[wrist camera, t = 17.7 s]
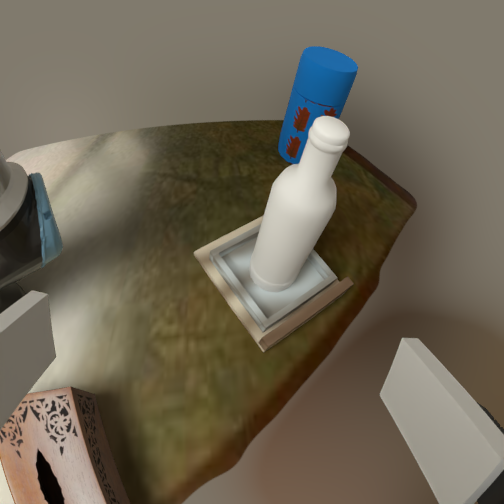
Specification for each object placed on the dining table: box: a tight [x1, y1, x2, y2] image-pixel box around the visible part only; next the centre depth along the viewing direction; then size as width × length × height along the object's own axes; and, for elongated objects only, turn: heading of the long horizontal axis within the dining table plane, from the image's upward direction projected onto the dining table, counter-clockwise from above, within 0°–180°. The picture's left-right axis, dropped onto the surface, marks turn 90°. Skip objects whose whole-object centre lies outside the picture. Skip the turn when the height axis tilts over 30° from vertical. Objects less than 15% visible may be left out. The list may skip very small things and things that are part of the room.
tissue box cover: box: [0, 387, 131, 504], centre depth 29 cm, size 26×14×10 cm, turn 20°
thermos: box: [278, 47, 358, 164], centre depth 61 cm, size 11×11×25 cm
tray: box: [194, 216, 354, 352], centre depth 53 cm, size 20×18×4 cm
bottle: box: [249, 116, 350, 292], centre depth 41 cm, size 8×8×30 cm
